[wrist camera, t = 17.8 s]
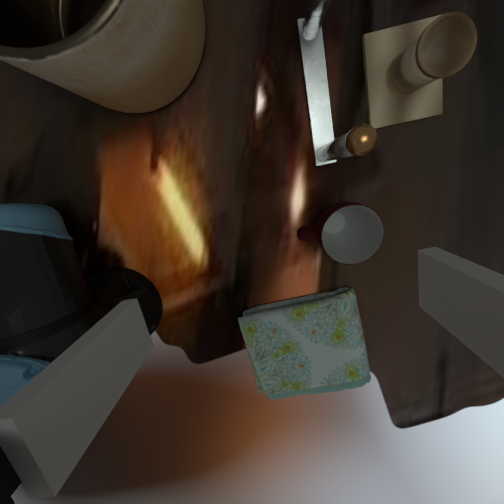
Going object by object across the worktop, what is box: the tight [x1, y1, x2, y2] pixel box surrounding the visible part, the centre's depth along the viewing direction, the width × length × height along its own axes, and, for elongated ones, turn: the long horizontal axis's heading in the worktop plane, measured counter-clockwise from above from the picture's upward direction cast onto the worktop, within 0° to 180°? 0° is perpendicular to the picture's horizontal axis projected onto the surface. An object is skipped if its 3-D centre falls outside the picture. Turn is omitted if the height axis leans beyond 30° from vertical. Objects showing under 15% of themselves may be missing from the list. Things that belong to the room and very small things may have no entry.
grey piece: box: [297, 0, 378, 166], centre depth 30 cm, size 3×19×18 cm, turn 12°
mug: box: [297, 202, 384, 265], centre depth 39 cm, size 11×8×10 cm
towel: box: [238, 287, 371, 399], centre depth 48 cm, size 18×21×5 cm
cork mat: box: [362, 15, 443, 129], centre depth 37 cm, size 10×12×1 cm
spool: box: [386, 12, 477, 96], centre depth 32 cm, size 6×6×9 cm
